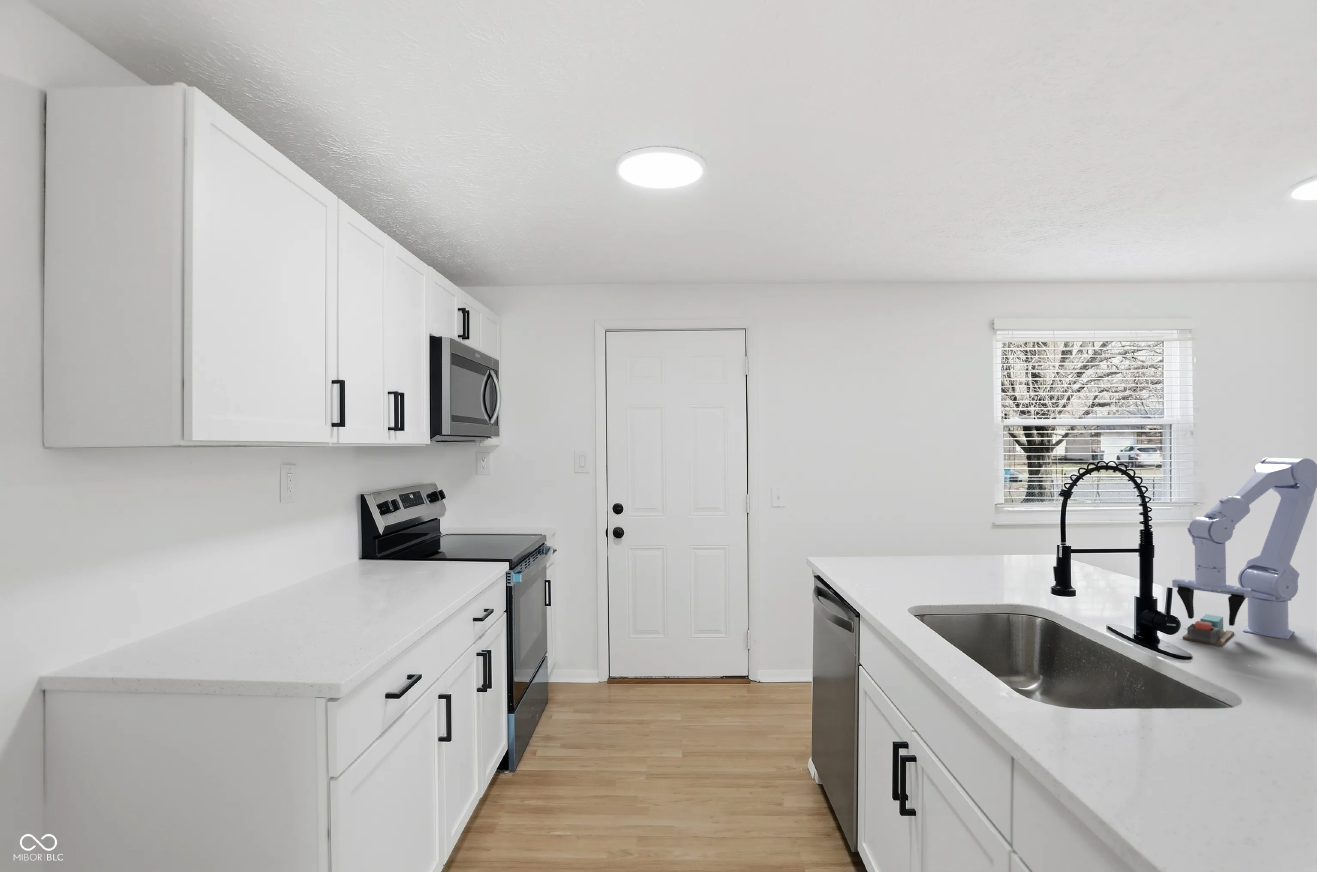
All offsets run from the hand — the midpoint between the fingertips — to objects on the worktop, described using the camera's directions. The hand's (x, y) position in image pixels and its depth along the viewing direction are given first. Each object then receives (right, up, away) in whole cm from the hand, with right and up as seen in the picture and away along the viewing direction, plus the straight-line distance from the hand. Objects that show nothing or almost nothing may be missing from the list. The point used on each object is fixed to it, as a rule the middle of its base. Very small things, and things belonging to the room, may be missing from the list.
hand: (1211, 621), depth 153 cm
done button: (-6, -1, -5) cm, 8 cm away
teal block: (+1, -3, +1) cm, 3 cm away
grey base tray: (-2, -3, -2) cm, 4 cm away
